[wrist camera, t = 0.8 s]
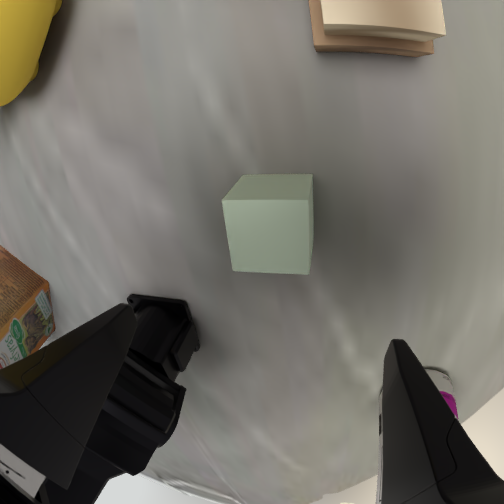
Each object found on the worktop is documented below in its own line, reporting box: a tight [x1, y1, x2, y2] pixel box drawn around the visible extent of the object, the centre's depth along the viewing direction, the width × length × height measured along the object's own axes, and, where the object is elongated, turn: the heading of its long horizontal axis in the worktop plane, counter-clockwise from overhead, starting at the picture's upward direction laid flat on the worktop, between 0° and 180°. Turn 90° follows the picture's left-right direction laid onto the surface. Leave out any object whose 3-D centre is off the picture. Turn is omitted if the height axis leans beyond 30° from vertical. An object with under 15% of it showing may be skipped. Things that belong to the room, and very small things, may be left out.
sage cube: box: [222, 174, 314, 275], centre depth 19 cm, size 4×4×4 cm
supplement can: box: [376, 369, 458, 504], centre depth 21 cm, size 8×8×15 cm
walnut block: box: [309, 0, 434, 57], centre depth 11 cm, size 6×6×4 cm
